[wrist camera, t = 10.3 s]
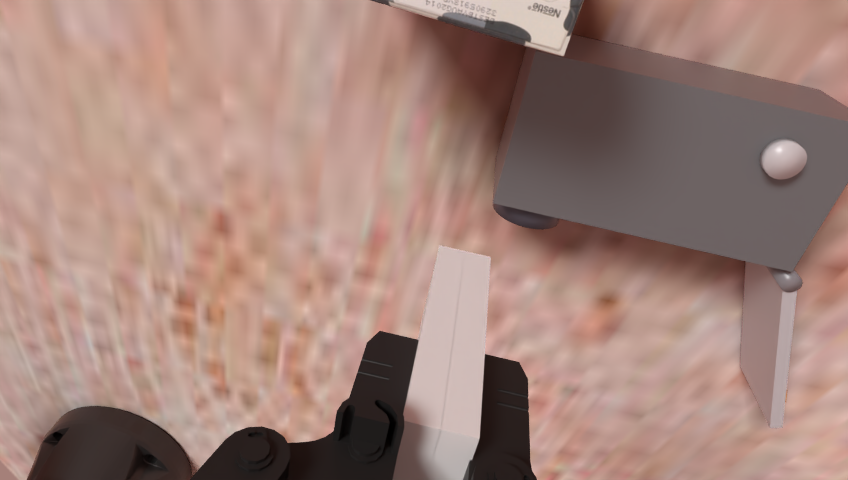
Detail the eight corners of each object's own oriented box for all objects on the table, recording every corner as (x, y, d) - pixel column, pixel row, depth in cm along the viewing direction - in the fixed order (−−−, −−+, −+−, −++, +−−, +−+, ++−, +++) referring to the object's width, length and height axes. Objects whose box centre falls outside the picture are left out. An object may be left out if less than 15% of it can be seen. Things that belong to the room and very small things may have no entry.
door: (764, 363, 46) (798, 428, 41) (736, 364, 47) (767, 429, 41) (775, 220, 41) (818, 273, 35) (743, 224, 41) (780, 276, 35)
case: (490, 178, 42) (485, 232, 35) (531, 25, 36) (536, 54, 30) (740, 236, 42) (783, 301, 35) (820, 90, 36) (889, 134, 29)
